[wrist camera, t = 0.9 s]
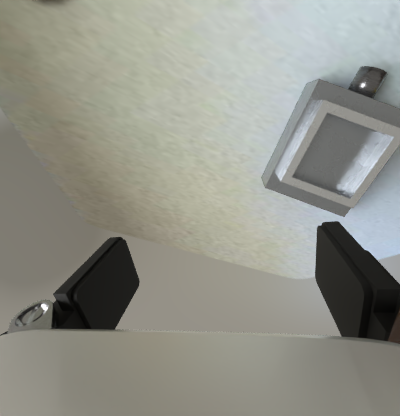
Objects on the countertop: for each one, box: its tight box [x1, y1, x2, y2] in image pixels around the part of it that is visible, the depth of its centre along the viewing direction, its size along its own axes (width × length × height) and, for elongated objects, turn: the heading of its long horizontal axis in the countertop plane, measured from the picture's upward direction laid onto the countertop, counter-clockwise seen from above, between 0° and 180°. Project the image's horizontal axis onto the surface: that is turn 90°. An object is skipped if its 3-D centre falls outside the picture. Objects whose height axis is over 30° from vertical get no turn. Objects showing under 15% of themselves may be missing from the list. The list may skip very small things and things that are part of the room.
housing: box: [261, 66, 400, 217], centre depth 29 cm, size 17×12×7 cm
